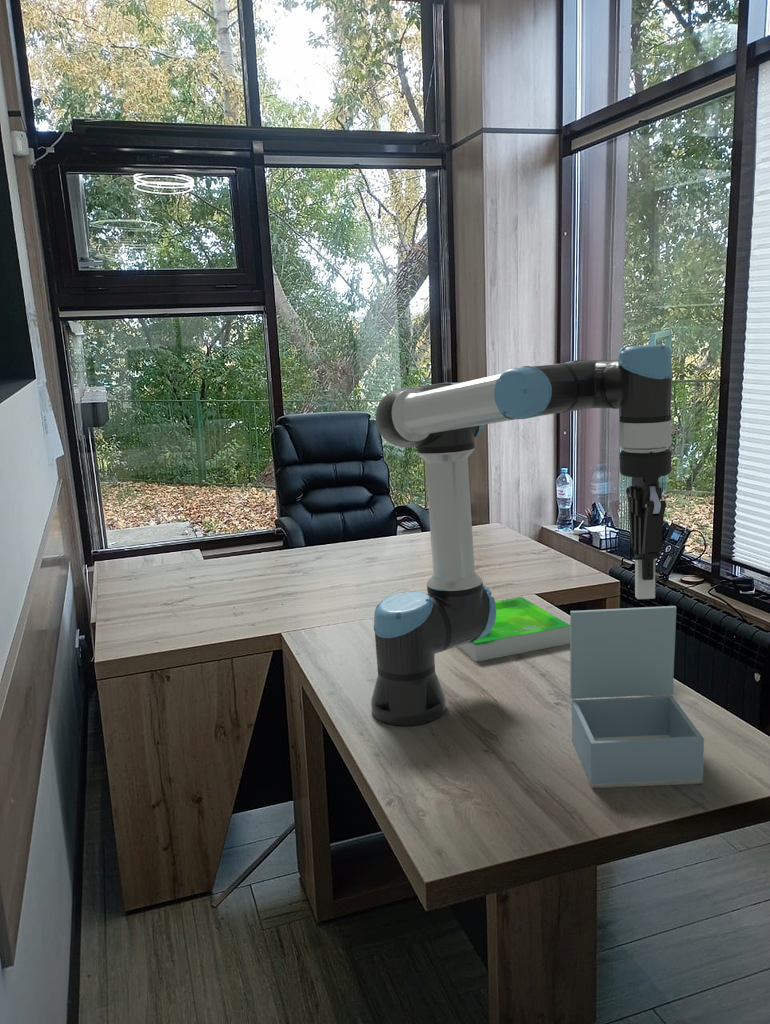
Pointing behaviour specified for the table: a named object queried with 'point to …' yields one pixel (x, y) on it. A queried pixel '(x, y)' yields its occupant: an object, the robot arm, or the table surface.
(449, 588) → the robot arm
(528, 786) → the table surface
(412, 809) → the table surface
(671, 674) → the lid
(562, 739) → the table surface
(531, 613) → the tray
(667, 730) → the box
